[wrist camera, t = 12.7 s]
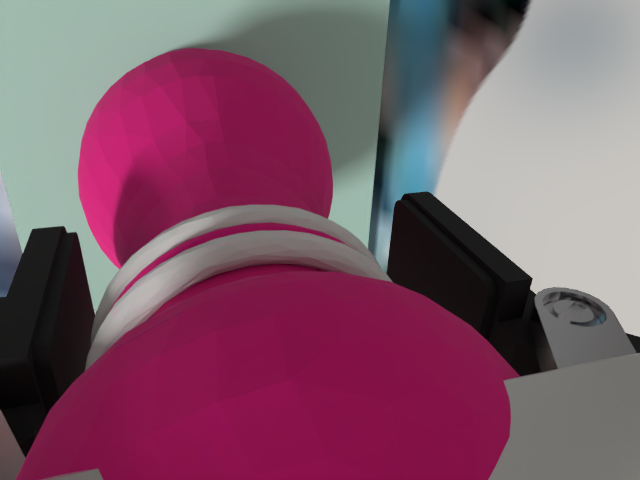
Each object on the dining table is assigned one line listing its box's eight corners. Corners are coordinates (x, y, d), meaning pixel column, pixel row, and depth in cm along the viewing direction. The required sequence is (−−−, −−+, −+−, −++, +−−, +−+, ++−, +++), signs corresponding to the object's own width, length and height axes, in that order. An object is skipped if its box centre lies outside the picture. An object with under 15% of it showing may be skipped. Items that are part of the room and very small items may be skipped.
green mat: (-63, -93, 15) (-73, -95, 14) (387, -69, 19) (396, -69, 18) (43, 306, 22) (40, 317, 21) (359, 265, 25) (365, 273, 25)
